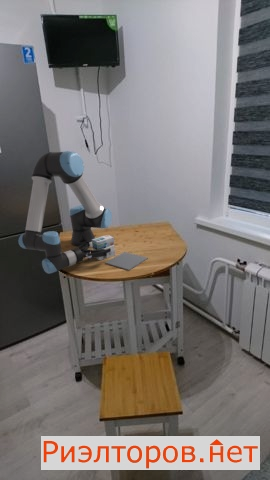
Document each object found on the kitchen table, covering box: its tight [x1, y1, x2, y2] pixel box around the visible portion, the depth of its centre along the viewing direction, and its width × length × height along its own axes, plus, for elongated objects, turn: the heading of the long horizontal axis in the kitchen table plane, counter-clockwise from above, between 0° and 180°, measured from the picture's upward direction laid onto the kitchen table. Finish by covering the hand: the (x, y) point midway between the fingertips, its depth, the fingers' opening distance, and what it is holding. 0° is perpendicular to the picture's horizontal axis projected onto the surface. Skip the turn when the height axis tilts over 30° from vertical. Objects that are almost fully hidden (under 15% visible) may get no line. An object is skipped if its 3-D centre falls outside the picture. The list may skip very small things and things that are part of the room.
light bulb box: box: [92, 234, 116, 261], centre depth 155 cm, size 11×7×11 cm, turn 126°
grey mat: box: [104, 251, 149, 271], centre depth 149 cm, size 16×16×1 cm
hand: (106, 244), depth 156 cm, fingers open, 13 cm apart
